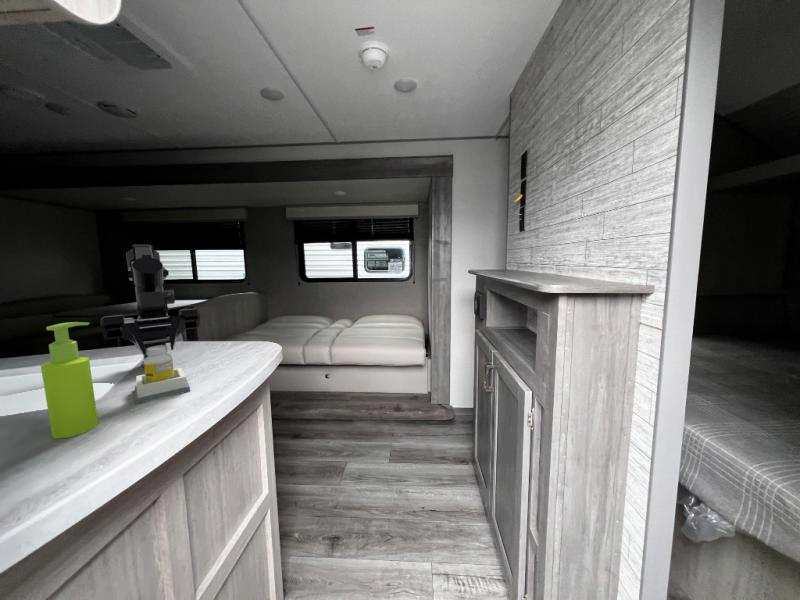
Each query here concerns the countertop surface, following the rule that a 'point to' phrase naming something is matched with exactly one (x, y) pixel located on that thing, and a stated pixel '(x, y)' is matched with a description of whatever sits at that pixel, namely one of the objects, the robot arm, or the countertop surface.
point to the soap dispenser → (68, 386)
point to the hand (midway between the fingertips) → (158, 351)
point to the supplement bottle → (158, 364)
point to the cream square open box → (160, 387)
